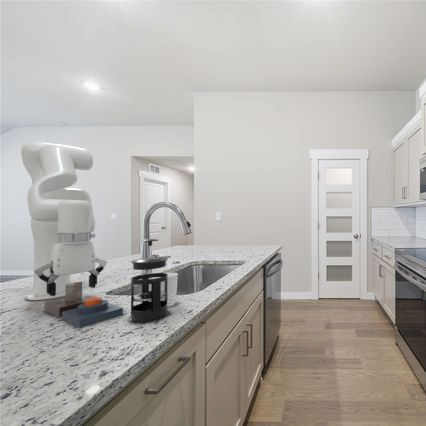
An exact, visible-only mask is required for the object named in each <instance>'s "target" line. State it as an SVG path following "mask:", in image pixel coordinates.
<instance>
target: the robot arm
mask: <svg viewBox="0 0 426 426" xmlns="http://www.w3.org/2000/svg"><path fill="white" fill-rule="evenodd" d="M20 153H21V155H20V156H21V161H22V163H23V166H24V168H25V170H26V172H27V173H28V175H29V177H30V179H31V184H32V185H31V186H30V188H29V189H28V192H27V207H28V213H29V216H30V228H31V229H30V230H31V233H32V238H33V292H32V293H30V294H28V295H27V296H26V299H27V300H28V301H46V300H53V299H59V298H64V297H65V285H66V284H70V283H71V275H75V274H81V273H89V275H88V287H89V288H92V289H95V288H96V285H97V284H98V276H99V275H100V273H102V271H103V270H104V269H105V267H106V265H107V264H108V261H107V260H105V259H100V258H98V257H96V255H95V253H96V252H95V248H94V243H93V241H92V239H94V238H96V234H95V233H93V232H94V231H95V228H96V221H95V214H94V208H93V204H92V199H91V194H89V192H88V191H86V190H84V189H81V188H71V187H72V186H73V185H75V184H76V183H77V182H78V175H77V171H76V170H78V171H79V170H80V171H89V170H91V169H92V168H93V167H94V156H93V154H92V153H91V152H90V151H89V150H88V149H85V148H81V147H77V146H76V147H75V146H70V145H63V144H57V143H48V142H42V141H41V142H40V141H30V142H25V143H23V145H22V146H21V149H20ZM96 263H98V264H99V265H98V266H97V267H96Z"/></svg>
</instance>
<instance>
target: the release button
mask: <svg viewBox="0 0 426 426" xmlns="http://www.w3.org/2000/svg"><path fill="white" fill-rule="evenodd" d="M101 298H102V297H100V296H96V297H95V298H89V299H86V300H85V306H94V305H98V304H101Z"/></svg>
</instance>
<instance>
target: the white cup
mask: <svg viewBox="0 0 426 426" xmlns="http://www.w3.org/2000/svg"><path fill="white" fill-rule="evenodd" d="M165 273H166V274H168V279H167V308H169V307H172V306H174V305H176V303H177V293H178V292H177V291H178V279H179V277H178V276H179V274H178V273H177V272H165ZM156 278H161V277H153V278H151V279H156ZM161 291H164V292H165V281H163V282H161ZM161 301H165V296H164V297H162V298H161Z"/></svg>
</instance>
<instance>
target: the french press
mask: <svg viewBox="0 0 426 426" xmlns="http://www.w3.org/2000/svg"><path fill="white" fill-rule="evenodd" d="M158 241H160V240H159V239H158V238H157V239H156V238H146V239H142V240H141V242H147V243H148V247H149V257H144V258H143V257H142V258H138V259H133V260H131V264H132V268H133V269H132V270H136V271H148V270H149V271H148V273H144V274H137V275H135V276H133V277H131V279H130V317H129V322H130V323H132V324H146V323H153V322H157V321H159V320H162V319H164V318H165V317H167V316H168V315H169V311H168V307H167V279H168V274H166V273H167V272H152V270H157V269H161V268H165V267H166V266H167V261H168V260H169V259H168V257H158V256H155V257H153V256H152V246H153V242H158ZM153 277H161V278H156V279H151V278H153ZM163 281H165V292H164V291H161V282H163ZM135 285H136V286H141V292H140V293H138V294H136V295H135V294H134V290H135V289H134V286H135ZM164 296H165V301H161V298H162V297H164ZM134 302H138V304H135V305H134ZM139 302H140V303H139Z"/></svg>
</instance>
